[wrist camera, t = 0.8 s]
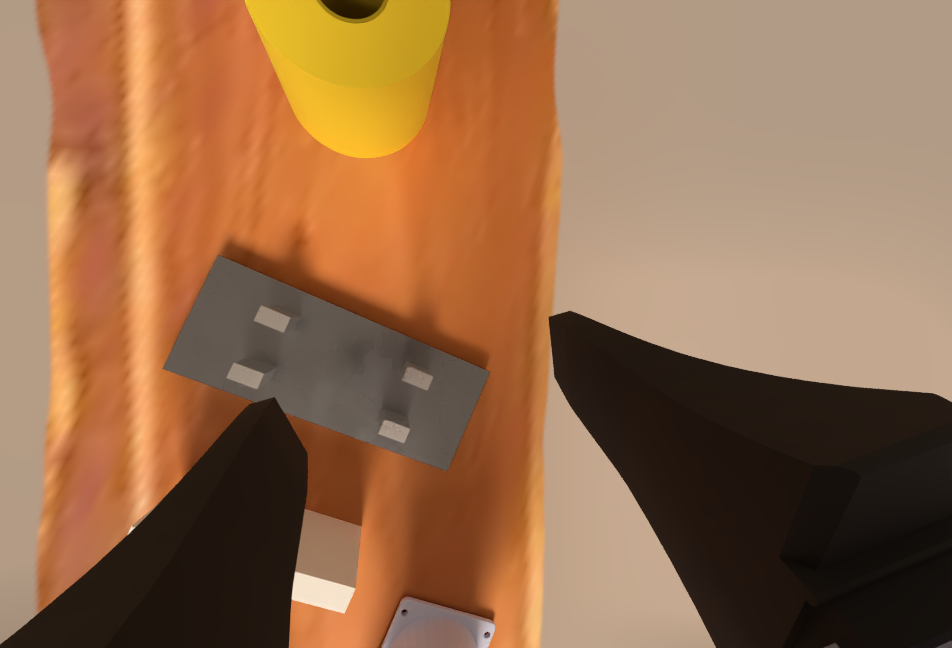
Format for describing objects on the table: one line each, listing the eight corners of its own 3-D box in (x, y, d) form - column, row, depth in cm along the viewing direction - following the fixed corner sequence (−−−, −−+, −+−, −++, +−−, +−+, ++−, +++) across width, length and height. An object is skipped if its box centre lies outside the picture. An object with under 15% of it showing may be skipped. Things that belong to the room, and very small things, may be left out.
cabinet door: (353, 544, 30) (344, 613, 23) (183, 494, 27) (117, 554, 21) (366, 515, 30) (361, 575, 23) (198, 462, 28) (138, 511, 21)
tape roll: (433, 32, 30) (456, -90, 21) (425, 167, 30) (444, 104, 21) (289, 0, 28) (243, -153, 19) (281, 146, 28) (231, 65, 19)
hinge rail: (444, 465, 31) (454, 488, 27) (172, 366, 27) (134, 376, 23) (486, 369, 32) (501, 378, 28) (225, 257, 27) (197, 247, 23)
